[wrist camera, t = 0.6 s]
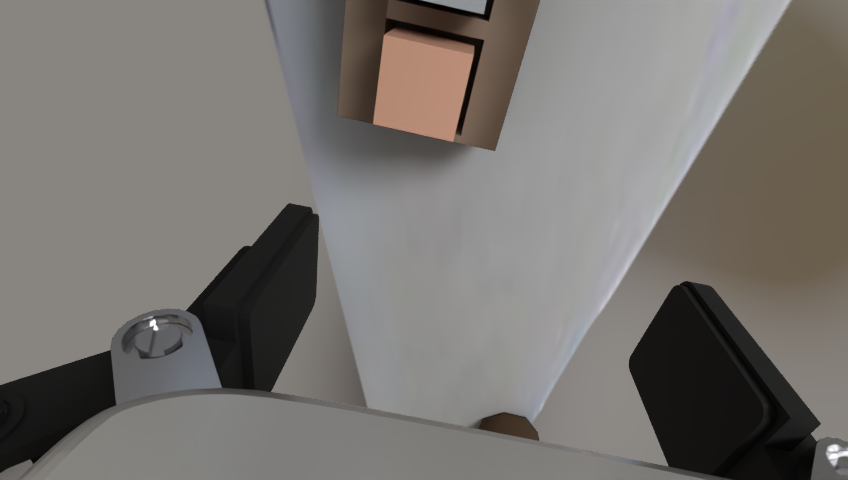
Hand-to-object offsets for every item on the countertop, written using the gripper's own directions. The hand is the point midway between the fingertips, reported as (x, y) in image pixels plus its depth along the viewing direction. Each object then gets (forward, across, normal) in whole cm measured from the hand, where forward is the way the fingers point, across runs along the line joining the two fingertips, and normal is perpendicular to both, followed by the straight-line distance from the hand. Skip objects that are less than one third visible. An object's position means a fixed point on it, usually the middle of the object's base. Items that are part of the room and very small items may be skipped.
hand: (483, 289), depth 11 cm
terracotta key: (+20, +4, -1) cm, 20 cm away
